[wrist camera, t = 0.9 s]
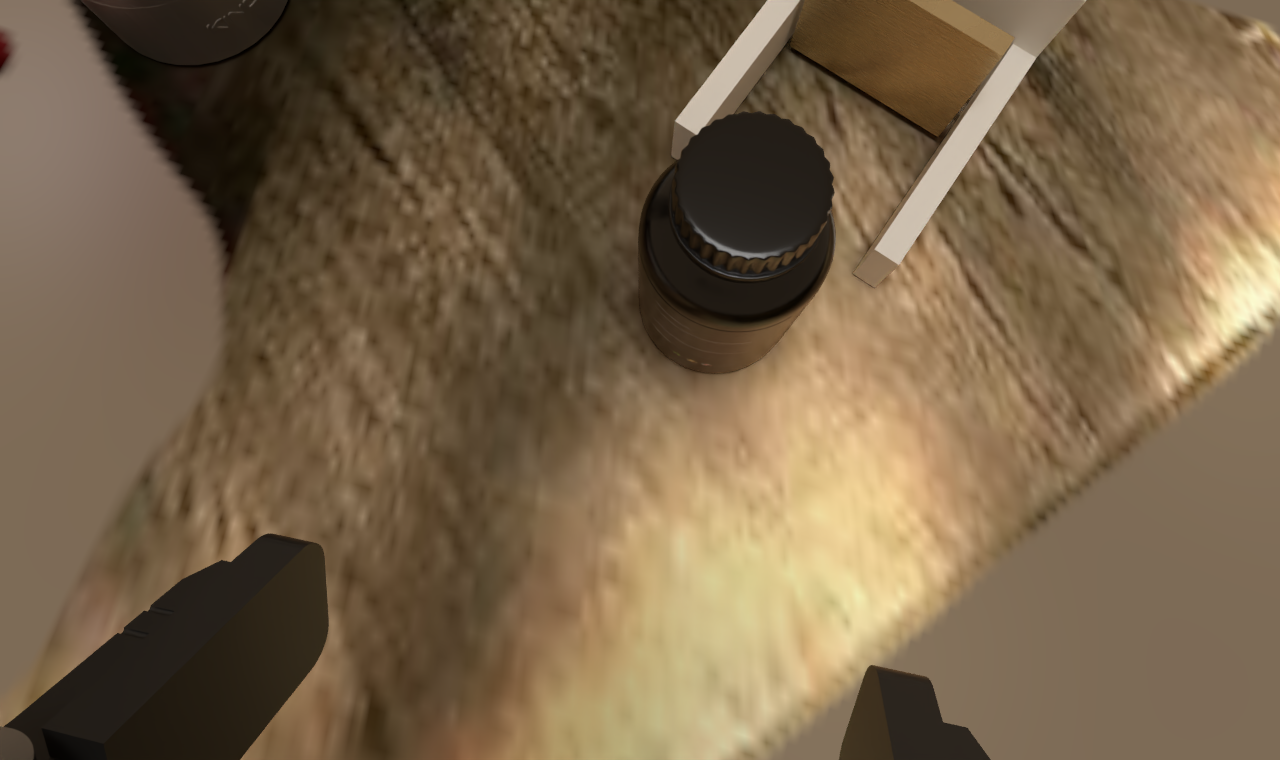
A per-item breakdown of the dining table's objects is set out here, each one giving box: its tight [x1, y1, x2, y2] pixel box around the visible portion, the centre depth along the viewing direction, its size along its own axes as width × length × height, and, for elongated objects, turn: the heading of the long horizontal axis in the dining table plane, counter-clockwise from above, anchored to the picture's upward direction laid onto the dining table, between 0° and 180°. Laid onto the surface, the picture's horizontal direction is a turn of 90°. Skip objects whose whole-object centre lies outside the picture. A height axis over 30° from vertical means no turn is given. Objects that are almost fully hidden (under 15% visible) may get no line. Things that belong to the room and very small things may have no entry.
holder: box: [671, 0, 1086, 288], centre depth 31 cm, size 11×13×6 cm
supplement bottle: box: [638, 112, 836, 373], centre depth 27 cm, size 7×7×12 cm
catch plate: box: [790, 0, 1015, 137], centre depth 31 cm, size 8×1×6 cm, turn 55°
